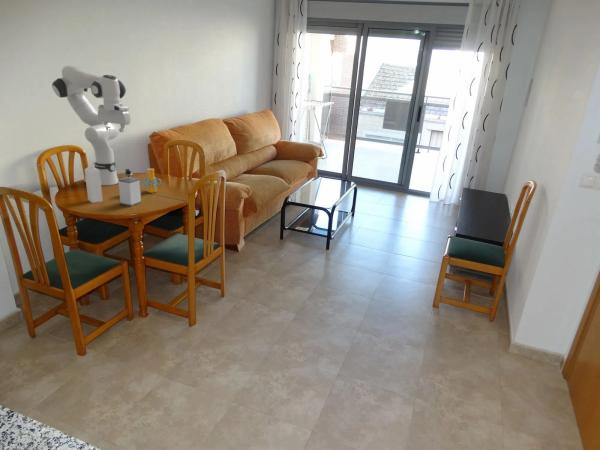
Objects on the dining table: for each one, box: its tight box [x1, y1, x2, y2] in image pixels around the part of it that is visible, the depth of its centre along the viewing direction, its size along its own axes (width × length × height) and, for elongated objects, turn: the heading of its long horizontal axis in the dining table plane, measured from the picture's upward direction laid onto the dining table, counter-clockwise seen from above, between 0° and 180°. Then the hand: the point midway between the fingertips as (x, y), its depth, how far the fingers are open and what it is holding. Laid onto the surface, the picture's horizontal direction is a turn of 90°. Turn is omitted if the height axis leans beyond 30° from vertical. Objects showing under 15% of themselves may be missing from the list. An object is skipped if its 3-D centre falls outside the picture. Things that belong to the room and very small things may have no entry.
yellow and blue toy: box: [140, 167, 162, 194], centre depth 266 cm, size 12×10×15 cm
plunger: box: [124, 168, 133, 180], centre depth 241 cm, size 5×5×19 cm
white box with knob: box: [118, 176, 142, 207], centre depth 244 cm, size 8×12×15 cm, turn 159°
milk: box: [84, 163, 103, 204], centre depth 241 cm, size 6×6×22 cm
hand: (114, 131), depth 236 cm, fingers open, 8 cm apart
